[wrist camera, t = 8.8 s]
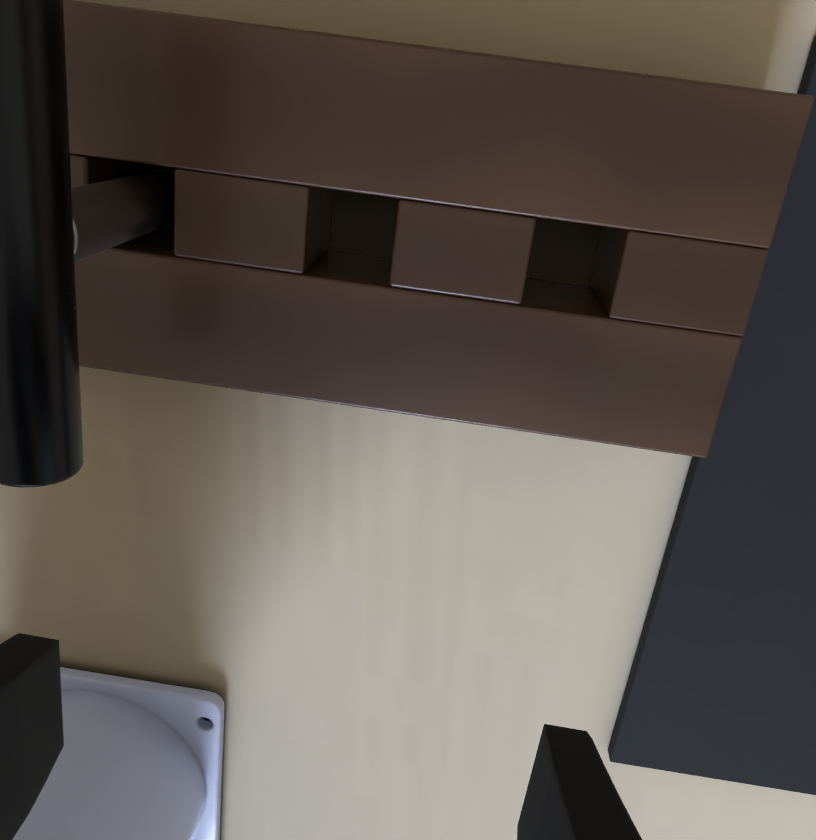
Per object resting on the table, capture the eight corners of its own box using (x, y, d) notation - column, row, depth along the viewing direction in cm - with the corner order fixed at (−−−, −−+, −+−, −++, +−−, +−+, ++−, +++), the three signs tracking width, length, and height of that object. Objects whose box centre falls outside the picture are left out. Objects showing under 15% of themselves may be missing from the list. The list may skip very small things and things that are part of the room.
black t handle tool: (210, 353, 20) (55, 494, 13) (151, 344, 20) (-38, 480, 13) (219, 12, 17) (22, -57, 10) (148, 3, 17) (-99, -72, 10)
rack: (677, 410, 20) (708, 459, 17) (43, 318, 20) (-26, 352, 18) (762, 97, 17) (817, 95, 14) (23, 1, 18) (-62, -18, 15)
